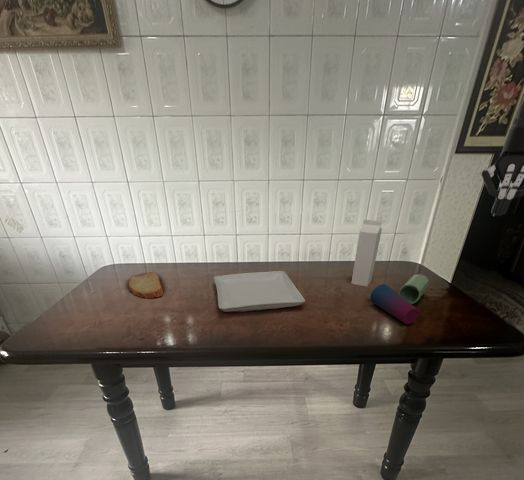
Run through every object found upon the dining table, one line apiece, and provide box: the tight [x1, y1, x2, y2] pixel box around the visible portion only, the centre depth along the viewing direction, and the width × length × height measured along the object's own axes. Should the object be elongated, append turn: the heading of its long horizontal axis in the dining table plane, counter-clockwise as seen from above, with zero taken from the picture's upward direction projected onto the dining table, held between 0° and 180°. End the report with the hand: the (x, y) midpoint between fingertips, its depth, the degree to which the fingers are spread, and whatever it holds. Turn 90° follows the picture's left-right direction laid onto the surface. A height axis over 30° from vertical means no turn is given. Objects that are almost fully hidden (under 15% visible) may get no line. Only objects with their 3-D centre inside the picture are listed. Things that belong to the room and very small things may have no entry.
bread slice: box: [128, 271, 164, 299], centre depth 111 cm, size 18×18×4 cm
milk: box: [350, 219, 383, 288], centre depth 107 cm, size 6×6×22 cm
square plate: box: [213, 270, 306, 313], centre depth 103 cm, size 27×27×4 cm
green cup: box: [397, 273, 430, 305], centre depth 100 cm, size 7×7×11 cm
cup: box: [370, 283, 420, 325], centre depth 91 cm, size 7×7×15 cm
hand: (496, 216), depth 71 cm, fingers closed
